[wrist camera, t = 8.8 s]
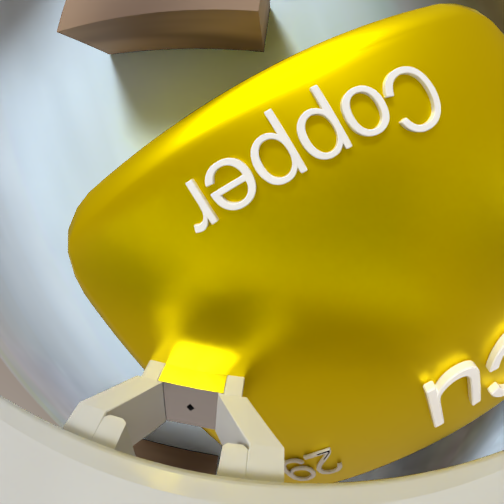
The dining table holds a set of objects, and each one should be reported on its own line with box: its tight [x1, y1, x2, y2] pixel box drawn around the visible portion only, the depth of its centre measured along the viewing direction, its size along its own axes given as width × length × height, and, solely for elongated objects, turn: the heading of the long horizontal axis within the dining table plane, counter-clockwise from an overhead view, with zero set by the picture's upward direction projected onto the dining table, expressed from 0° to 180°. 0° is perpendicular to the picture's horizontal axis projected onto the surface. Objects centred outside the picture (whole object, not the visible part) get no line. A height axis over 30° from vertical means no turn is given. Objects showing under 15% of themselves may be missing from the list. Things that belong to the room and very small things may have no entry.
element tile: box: [68, 4, 504, 483], centre depth 9 cm, size 15×15×5 cm
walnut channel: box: [57, 0, 270, 475], centre depth 11 cm, size 6×25×4 cm, turn 173°
